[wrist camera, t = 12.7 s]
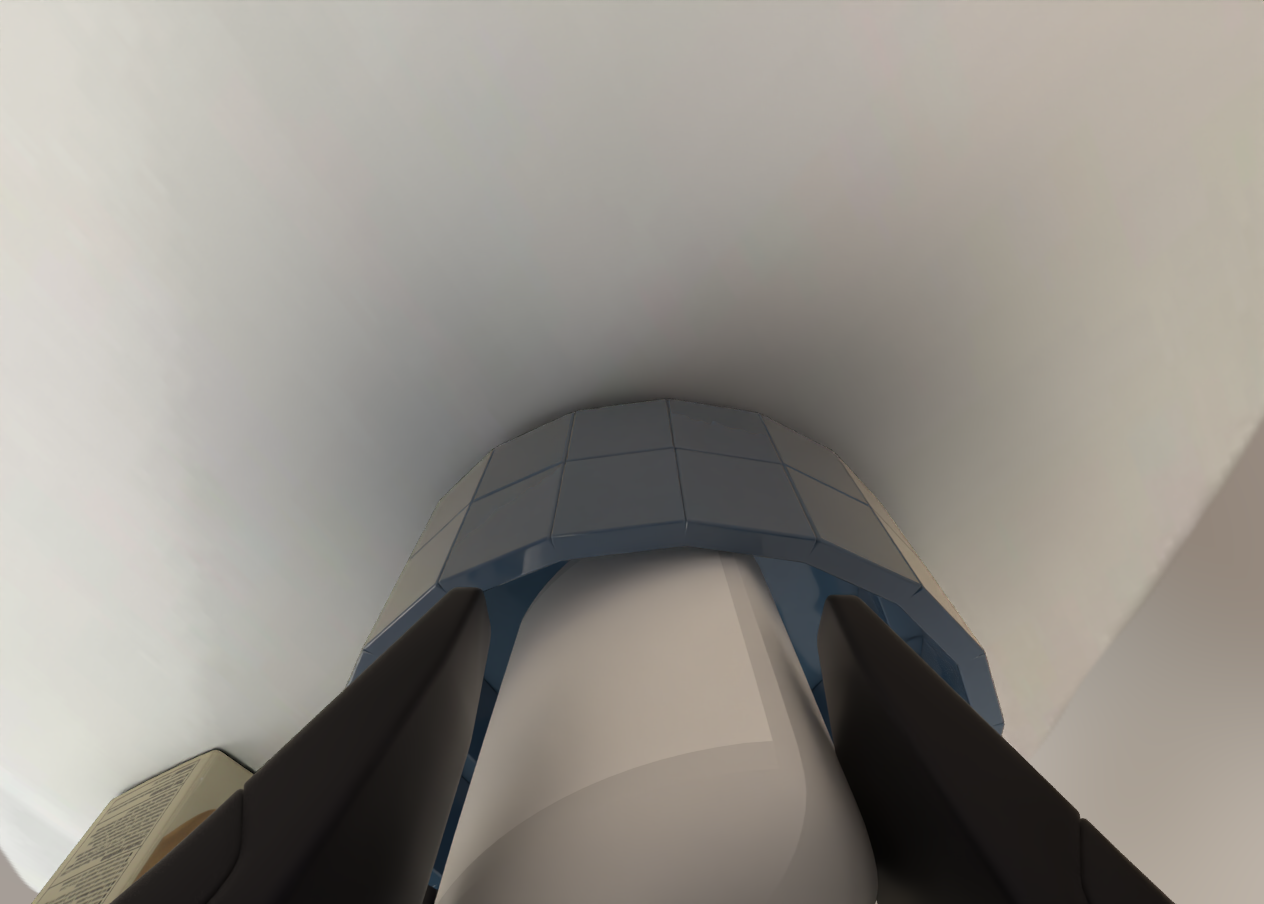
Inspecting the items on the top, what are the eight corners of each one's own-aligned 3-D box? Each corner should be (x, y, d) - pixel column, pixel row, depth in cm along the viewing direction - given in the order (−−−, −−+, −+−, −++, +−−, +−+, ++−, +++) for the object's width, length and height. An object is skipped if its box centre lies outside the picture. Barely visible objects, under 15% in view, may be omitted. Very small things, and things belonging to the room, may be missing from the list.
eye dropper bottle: (507, 515, 13) (-342, 2168, 2) (754, 496, 13) (1645, 2181, 2) (532, 675, 14) (155, 2214, 3) (758, 660, 14) (1254, 2221, 3)
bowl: (727, 794, 24) (755, 980, 19) (362, 676, 20) (268, 864, 15) (997, 527, 17) (1156, 694, 12) (533, 289, 14) (477, 379, 9)
